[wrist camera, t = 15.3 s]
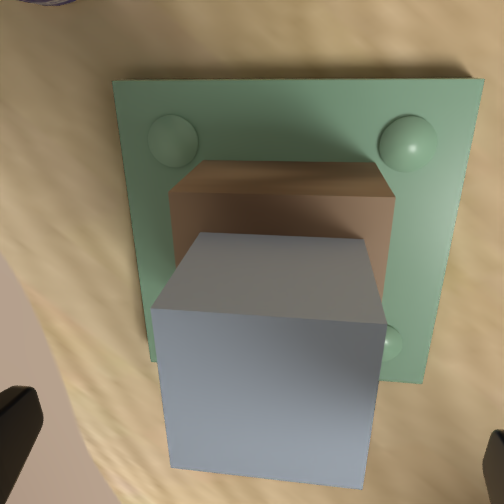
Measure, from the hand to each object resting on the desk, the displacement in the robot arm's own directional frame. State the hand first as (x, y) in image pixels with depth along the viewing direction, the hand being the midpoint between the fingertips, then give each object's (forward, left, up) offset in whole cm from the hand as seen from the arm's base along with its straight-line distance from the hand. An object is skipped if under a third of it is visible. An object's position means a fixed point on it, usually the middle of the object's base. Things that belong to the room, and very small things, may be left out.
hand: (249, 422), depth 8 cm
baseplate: (0, 0, -10) cm, 10 cm away
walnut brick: (0, 0, -9) cm, 9 cm away
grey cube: (0, 0, -5) cm, 5 cm away
